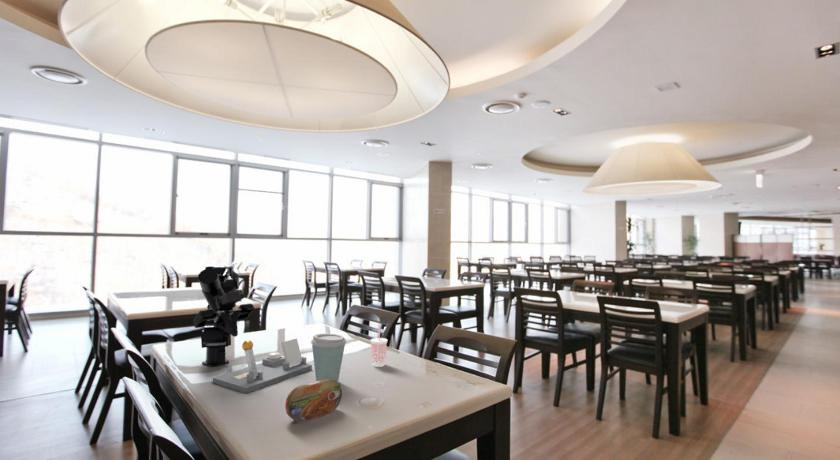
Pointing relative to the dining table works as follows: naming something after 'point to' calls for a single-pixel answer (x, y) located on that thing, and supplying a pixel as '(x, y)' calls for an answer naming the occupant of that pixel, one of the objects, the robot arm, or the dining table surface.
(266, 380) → the switch panel
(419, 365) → the dining table surface
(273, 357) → the cream push button
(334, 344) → the disposable coffee cup
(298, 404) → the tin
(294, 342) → the grey paddle
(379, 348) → the beverage cup
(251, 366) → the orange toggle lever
